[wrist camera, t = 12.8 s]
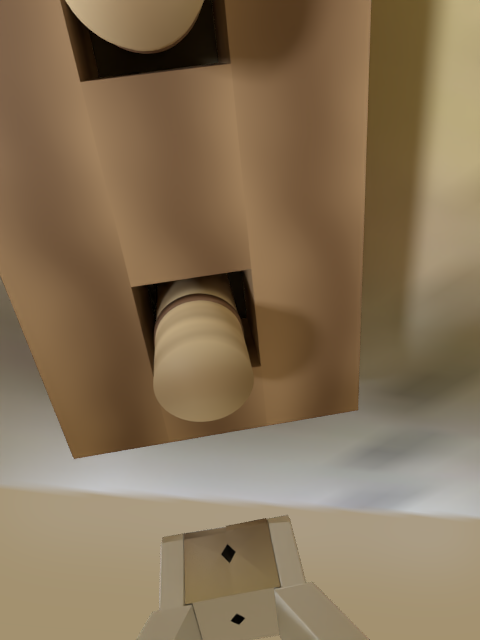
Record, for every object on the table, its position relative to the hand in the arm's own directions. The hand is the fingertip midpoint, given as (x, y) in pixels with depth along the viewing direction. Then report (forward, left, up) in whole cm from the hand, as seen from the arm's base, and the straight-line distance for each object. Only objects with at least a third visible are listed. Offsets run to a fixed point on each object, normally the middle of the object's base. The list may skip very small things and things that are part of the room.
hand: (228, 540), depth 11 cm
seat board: (0, +6, -14) cm, 16 cm away
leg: (0, 0, -14) cm, 14 cm away
